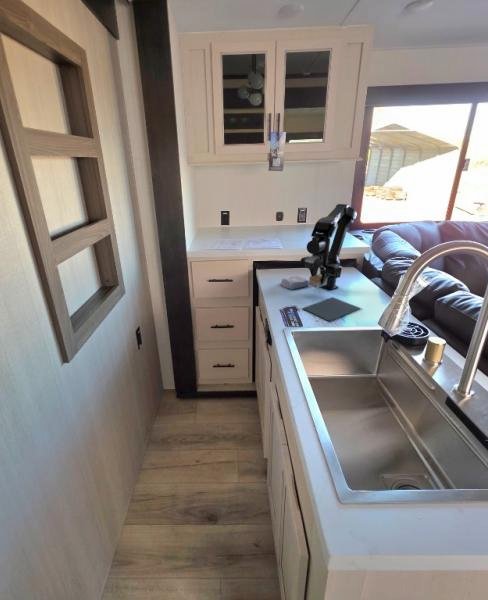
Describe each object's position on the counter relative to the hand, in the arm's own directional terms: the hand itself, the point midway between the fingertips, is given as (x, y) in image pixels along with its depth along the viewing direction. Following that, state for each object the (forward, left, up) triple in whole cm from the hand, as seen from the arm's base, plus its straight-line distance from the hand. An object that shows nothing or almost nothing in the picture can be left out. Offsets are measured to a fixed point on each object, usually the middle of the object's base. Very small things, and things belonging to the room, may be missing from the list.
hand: (317, 282), depth 143 cm
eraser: (0, 0, -1) cm, 1 cm away
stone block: (-2, -16, -7) cm, 18 cm away
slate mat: (+6, +13, -7) cm, 16 cm away
